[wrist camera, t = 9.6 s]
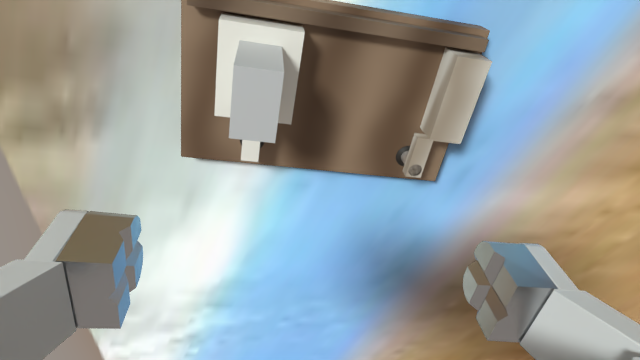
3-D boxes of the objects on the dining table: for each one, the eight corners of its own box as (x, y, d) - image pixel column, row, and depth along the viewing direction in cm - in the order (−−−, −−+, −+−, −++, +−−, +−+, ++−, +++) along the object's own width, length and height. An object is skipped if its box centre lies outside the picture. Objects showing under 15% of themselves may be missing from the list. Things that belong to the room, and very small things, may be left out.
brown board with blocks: (480, 25, 29) (505, 38, 26) (428, 171, 36) (444, 196, 32) (185, -25, 26) (174, -17, 23) (184, 147, 32) (175, 171, 29)
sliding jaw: (302, 25, 27) (312, 55, 21) (284, 151, 31) (288, 205, 25) (222, 12, 26) (208, 40, 20) (215, 144, 30) (202, 198, 24)
